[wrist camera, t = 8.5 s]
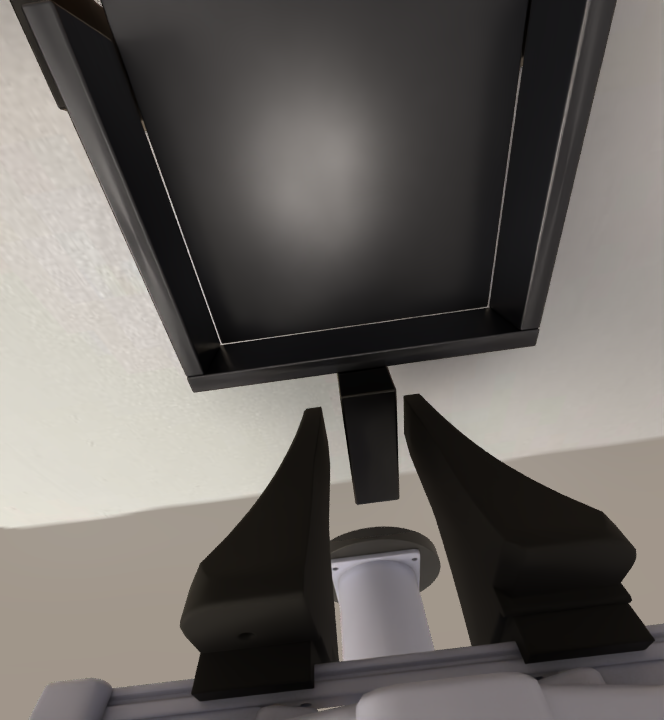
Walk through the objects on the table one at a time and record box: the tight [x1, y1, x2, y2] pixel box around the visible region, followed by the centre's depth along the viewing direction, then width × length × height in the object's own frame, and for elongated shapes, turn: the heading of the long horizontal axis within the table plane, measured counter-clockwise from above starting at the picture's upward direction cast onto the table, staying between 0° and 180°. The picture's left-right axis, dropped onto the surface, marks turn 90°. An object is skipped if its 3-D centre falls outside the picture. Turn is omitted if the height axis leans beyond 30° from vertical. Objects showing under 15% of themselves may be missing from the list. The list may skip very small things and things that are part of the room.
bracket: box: [10, 0, 532, 131], centre depth 8 cm, size 2×13×4 cm, turn 97°
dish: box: [21, 0, 617, 505], centre depth 9 cm, size 15×11×4 cm
